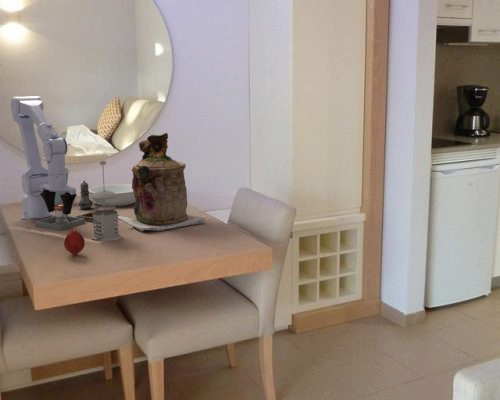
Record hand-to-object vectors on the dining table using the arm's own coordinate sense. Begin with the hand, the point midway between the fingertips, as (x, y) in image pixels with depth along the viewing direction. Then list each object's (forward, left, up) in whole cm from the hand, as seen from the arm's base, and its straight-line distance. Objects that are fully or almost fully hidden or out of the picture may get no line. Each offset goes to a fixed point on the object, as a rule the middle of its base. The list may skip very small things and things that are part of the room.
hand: (59, 213), depth 209 cm
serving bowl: (-7, +37, -5) cm, 38 cm away
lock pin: (0, +1, -4) cm, 4 cm away
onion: (+28, -22, -5) cm, 36 cm away
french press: (+22, -2, -5) cm, 23 cm away
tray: (0, 0, -5) cm, 5 cm away
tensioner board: (+2, +14, -5) cm, 15 cm away
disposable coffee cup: (-29, +27, -5) cm, 40 cm away
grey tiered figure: (-10, +23, -5) cm, 26 cm away
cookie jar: (+26, +22, -5) cm, 35 cm away
